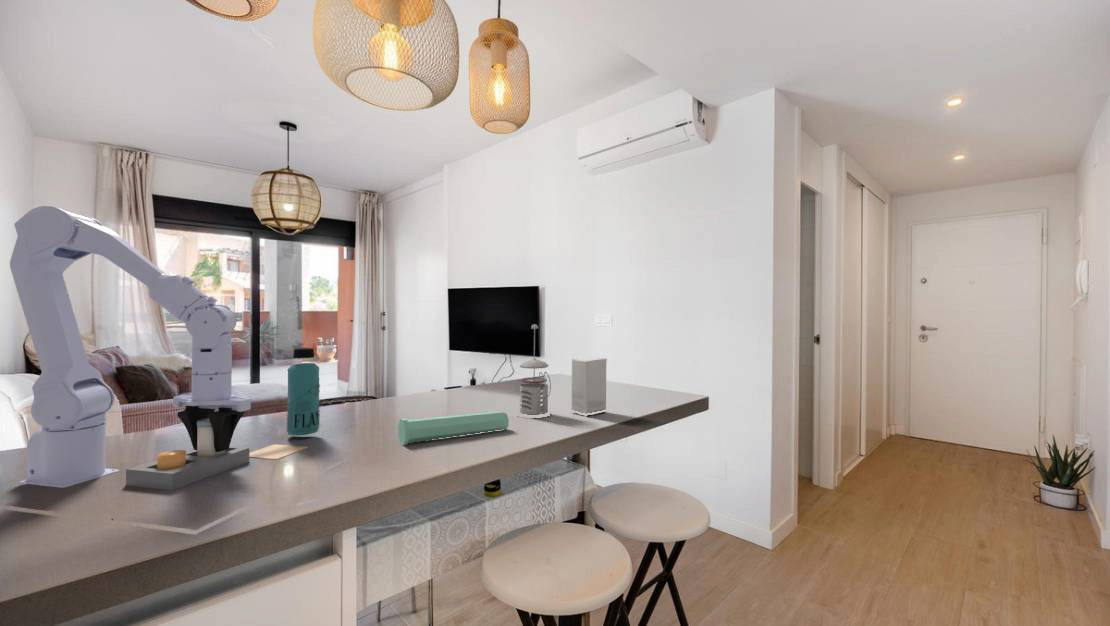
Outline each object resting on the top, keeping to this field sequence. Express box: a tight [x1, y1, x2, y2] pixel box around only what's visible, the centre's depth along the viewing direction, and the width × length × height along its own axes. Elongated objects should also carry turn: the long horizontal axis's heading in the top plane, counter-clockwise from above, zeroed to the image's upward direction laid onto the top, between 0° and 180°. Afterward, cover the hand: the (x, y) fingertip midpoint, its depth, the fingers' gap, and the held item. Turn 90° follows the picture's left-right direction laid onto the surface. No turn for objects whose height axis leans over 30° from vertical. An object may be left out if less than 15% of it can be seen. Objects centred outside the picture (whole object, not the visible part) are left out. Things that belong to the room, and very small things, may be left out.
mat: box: [249, 443, 308, 461], centre depth 91 cm, size 8×8×1 cm
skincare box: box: [571, 356, 608, 414], centre depth 131 cm, size 8×7×16 cm
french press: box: [519, 323, 552, 415], centre depth 128 cm, size 10×12×25 cm
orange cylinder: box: [156, 449, 187, 470], centre depth 76 cm, size 4×4×4 cm
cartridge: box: [197, 418, 225, 457], centre depth 83 cm, size 4×4×8 cm
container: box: [397, 410, 509, 446], centre depth 106 cm, size 6×6×25 cm
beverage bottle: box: [286, 347, 321, 436], centre depth 102 cm, size 6×7×20 cm
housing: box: [125, 445, 250, 491], centre depth 79 cm, size 9×14×3 cm, turn 168°
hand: (211, 449), depth 83 cm, fingers open, 4 cm apart
